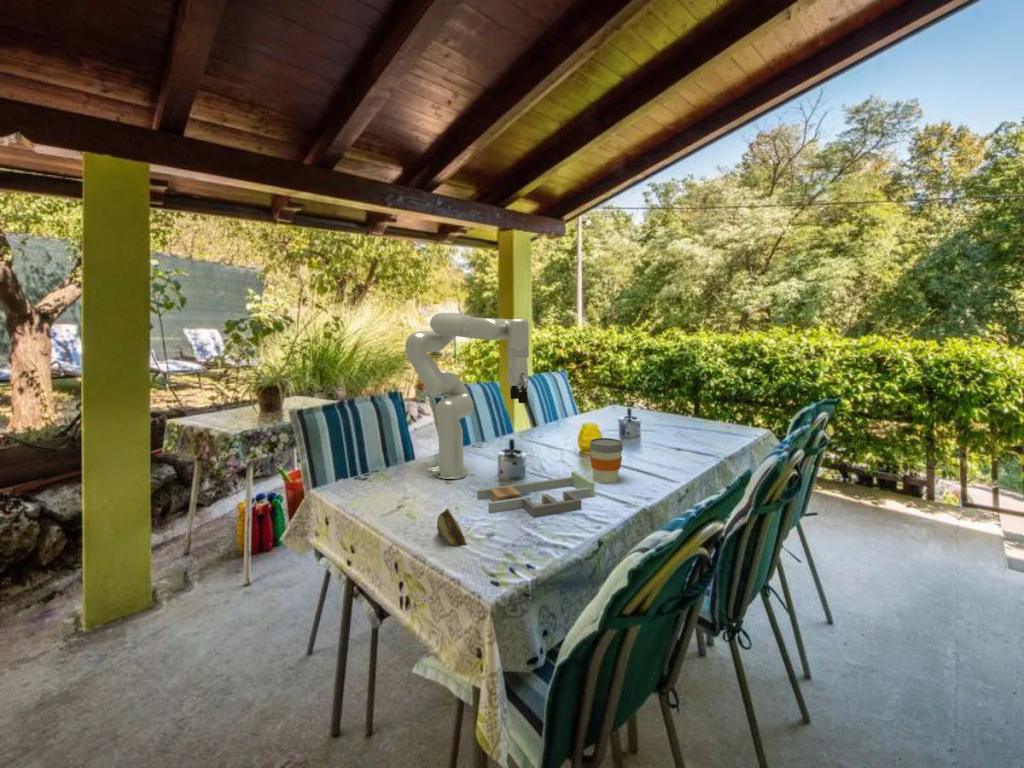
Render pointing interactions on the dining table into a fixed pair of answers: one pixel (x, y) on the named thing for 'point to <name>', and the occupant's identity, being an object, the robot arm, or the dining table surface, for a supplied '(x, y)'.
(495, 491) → the walnut block
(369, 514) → the dining table surface
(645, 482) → the dining table surface
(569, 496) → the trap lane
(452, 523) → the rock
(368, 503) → the dining table surface
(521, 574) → the dining table surface
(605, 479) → the reusable coffee cup
